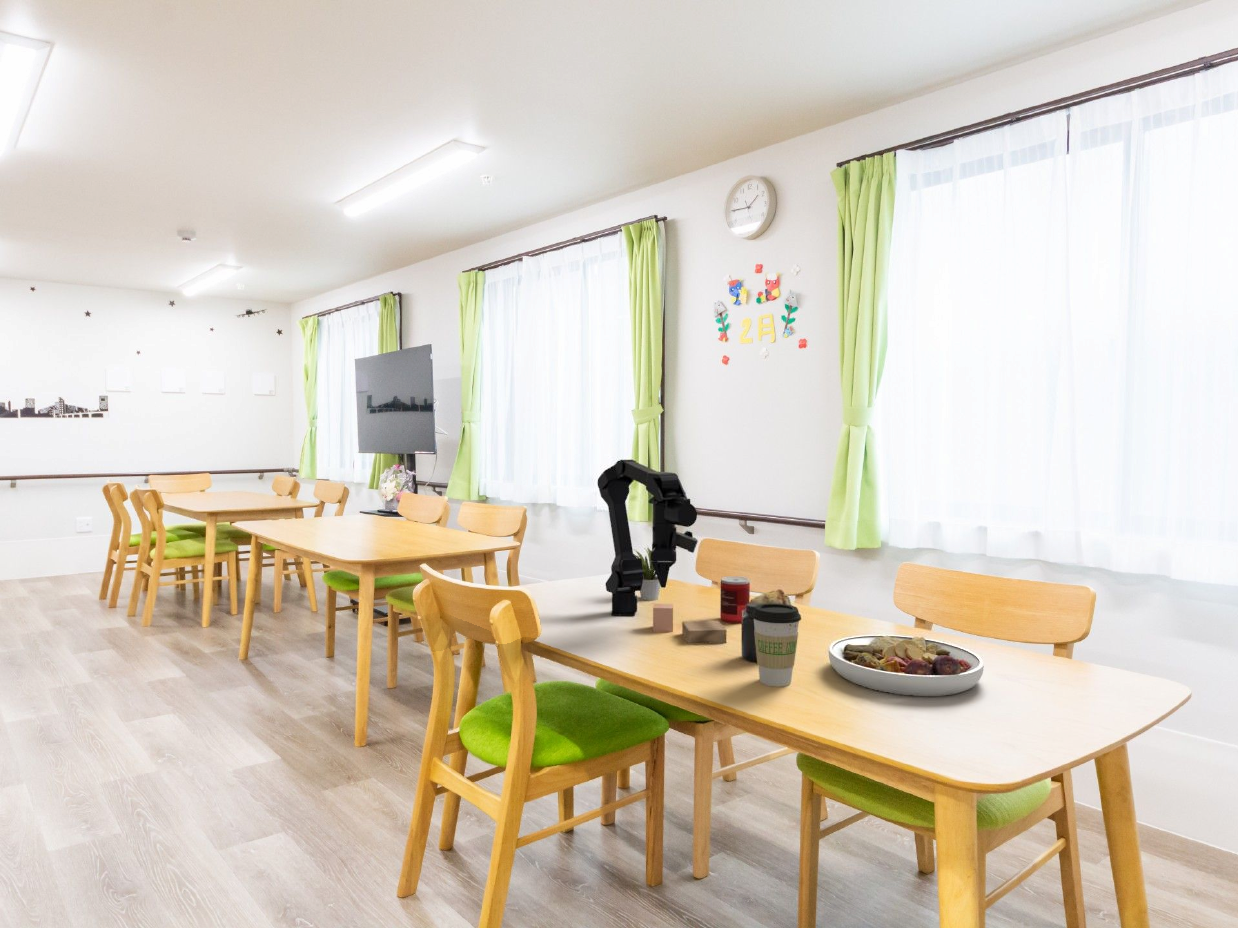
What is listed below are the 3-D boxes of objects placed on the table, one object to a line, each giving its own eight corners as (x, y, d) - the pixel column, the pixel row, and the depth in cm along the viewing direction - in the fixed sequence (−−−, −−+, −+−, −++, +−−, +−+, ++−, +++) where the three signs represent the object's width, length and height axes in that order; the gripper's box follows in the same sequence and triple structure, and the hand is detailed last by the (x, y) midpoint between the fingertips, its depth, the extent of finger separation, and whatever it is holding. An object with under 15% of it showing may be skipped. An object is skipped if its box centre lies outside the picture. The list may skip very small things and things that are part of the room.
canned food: (748, 616, 213) (748, 576, 213) (750, 624, 205) (750, 582, 205) (719, 616, 214) (720, 575, 213) (720, 623, 206) (721, 581, 205)
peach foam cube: (652, 631, 197) (653, 607, 197) (653, 626, 202) (653, 603, 202) (672, 631, 197) (673, 608, 197) (672, 626, 202) (673, 603, 202)
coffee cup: (771, 692, 152) (772, 615, 151) (740, 678, 160) (741, 605, 160) (810, 685, 156) (811, 610, 156) (779, 671, 165) (780, 600, 164)
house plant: (681, 594, 241) (681, 541, 240) (674, 604, 227) (674, 548, 227) (635, 592, 244) (635, 540, 243) (625, 601, 231) (626, 546, 230)
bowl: (799, 664, 171) (800, 628, 171) (908, 650, 182) (909, 617, 182) (896, 710, 143) (896, 668, 143) (1017, 690, 154) (1018, 651, 154)
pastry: (804, 623, 207) (804, 593, 207) (760, 626, 204) (760, 595, 203) (780, 611, 221) (780, 582, 220) (738, 613, 217) (739, 585, 217)
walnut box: (689, 645, 186) (689, 630, 186) (682, 635, 195) (682, 621, 195) (726, 644, 187) (726, 629, 187) (717, 634, 196) (717, 620, 196)
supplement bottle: (775, 656, 176) (776, 603, 176) (768, 664, 170) (768, 609, 169) (745, 652, 179) (746, 600, 178) (737, 660, 173) (737, 606, 172)
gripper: (697, 527, 189) (696, 591, 189) (694, 518, 207) (694, 577, 208) (650, 527, 189) (650, 591, 190) (652, 518, 208) (652, 576, 209)
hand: (663, 583), depth 199 cm, fingers open, 9 cm apart
